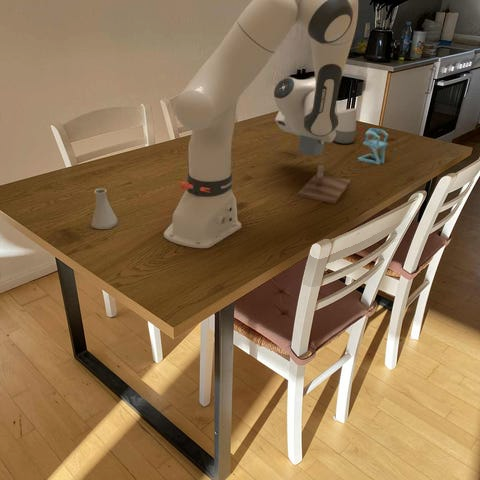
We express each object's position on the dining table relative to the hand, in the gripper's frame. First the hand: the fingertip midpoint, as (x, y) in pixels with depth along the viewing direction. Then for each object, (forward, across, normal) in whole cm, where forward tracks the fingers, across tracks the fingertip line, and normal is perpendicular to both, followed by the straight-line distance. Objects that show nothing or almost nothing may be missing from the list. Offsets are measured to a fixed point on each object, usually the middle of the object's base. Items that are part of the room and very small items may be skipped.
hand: (313, 139), depth 168 cm
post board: (-2, -13, +17) cm, 21 cm away
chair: (+24, -13, -9) cm, 29 cm away
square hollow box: (+3, 0, +4) cm, 4 cm away
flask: (-44, +21, +60) cm, 78 cm away
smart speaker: (+33, +6, -18) cm, 38 cm away
